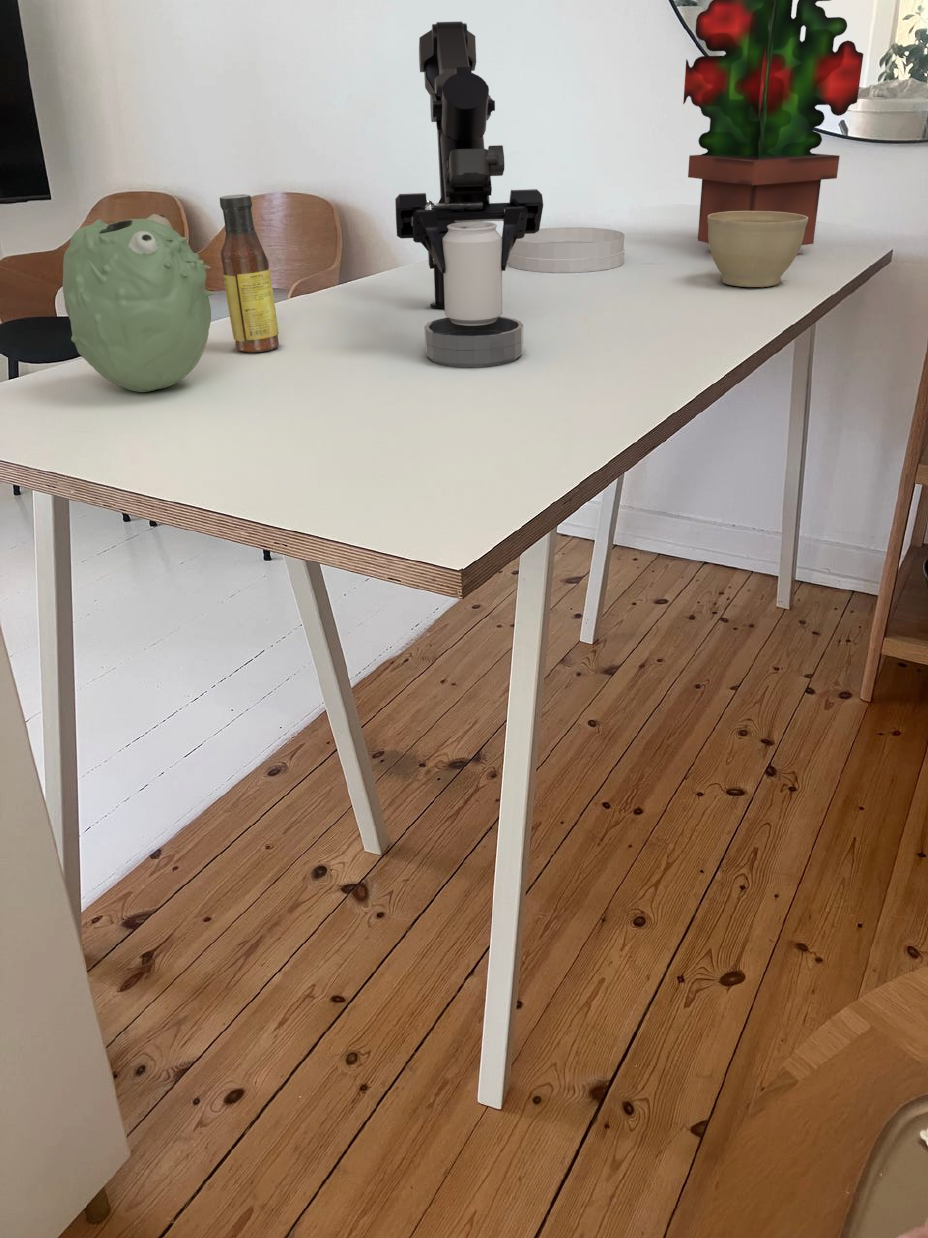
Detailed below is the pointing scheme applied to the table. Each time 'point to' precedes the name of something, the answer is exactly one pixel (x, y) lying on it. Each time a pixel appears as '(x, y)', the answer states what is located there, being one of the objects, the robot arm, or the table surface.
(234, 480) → the table surface
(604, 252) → the dish
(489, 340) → the pan
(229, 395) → the table surface
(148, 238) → the green pufferfish figure
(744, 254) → the planter bowl
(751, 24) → the potted plant
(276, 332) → the sauce bottle
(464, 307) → the can
